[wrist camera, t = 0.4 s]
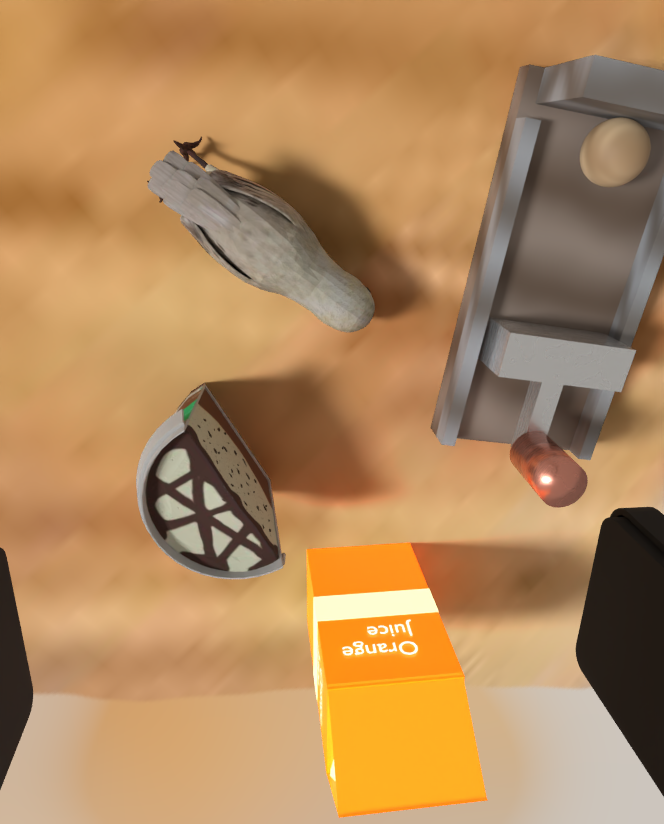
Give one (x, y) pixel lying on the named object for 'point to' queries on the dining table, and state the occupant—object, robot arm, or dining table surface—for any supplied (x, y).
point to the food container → (208, 494)
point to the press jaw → (551, 393)
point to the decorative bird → (259, 238)
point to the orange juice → (387, 684)
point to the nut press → (562, 239)
